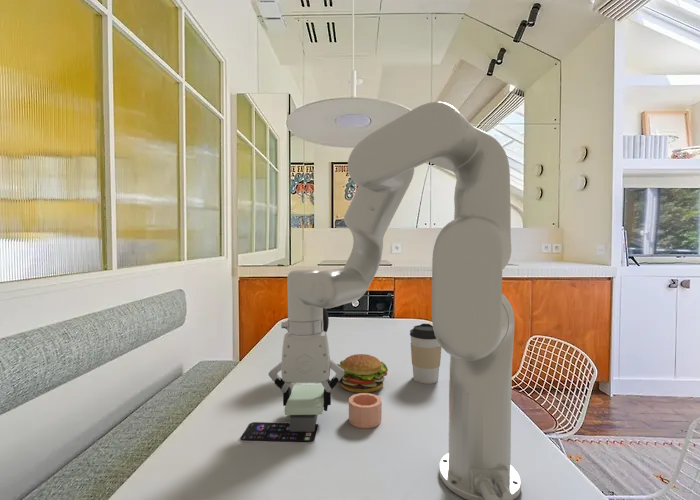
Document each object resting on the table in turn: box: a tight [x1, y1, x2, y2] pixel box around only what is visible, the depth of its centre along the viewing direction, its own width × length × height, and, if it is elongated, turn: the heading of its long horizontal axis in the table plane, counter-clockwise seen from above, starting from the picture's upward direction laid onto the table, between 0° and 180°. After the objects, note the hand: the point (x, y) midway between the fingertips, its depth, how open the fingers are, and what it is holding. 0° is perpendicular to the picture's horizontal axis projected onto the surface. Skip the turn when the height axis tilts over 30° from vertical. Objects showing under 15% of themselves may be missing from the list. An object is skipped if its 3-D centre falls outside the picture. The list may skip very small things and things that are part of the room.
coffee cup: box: [409, 323, 442, 384], centre depth 102 cm, size 9×9×15 cm
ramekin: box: [348, 392, 383, 430], centre depth 78 cm, size 7×7×4 cm
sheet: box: [284, 384, 324, 416], centre depth 78 cm, size 12×8×1 cm, turn 0°
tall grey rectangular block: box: [289, 415, 318, 432], centre depth 78 cm, size 10×5×3 cm, turn 179°
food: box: [336, 353, 389, 394], centre depth 98 cm, size 14×14×8 cm
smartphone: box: [239, 421, 320, 445], centre depth 73 cm, size 8×1×15 cm
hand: (307, 407), depth 78 cm, fingers closed on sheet, 7 cm apart
